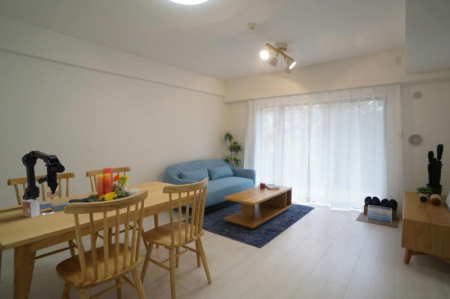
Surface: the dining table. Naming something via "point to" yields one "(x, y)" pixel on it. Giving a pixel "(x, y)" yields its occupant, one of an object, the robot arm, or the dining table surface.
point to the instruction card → (48, 213)
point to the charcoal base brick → (58, 206)
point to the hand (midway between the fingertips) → (53, 193)
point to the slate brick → (45, 205)
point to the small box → (31, 208)
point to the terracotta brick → (49, 194)
